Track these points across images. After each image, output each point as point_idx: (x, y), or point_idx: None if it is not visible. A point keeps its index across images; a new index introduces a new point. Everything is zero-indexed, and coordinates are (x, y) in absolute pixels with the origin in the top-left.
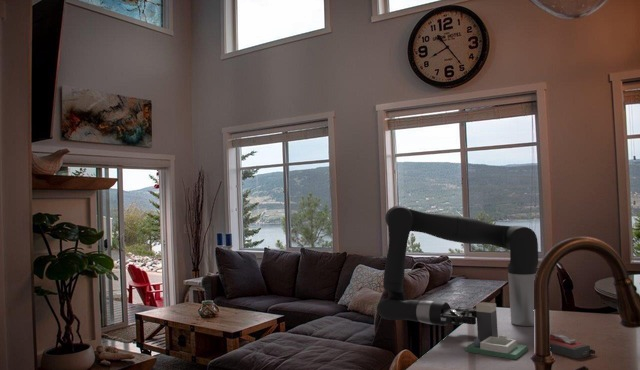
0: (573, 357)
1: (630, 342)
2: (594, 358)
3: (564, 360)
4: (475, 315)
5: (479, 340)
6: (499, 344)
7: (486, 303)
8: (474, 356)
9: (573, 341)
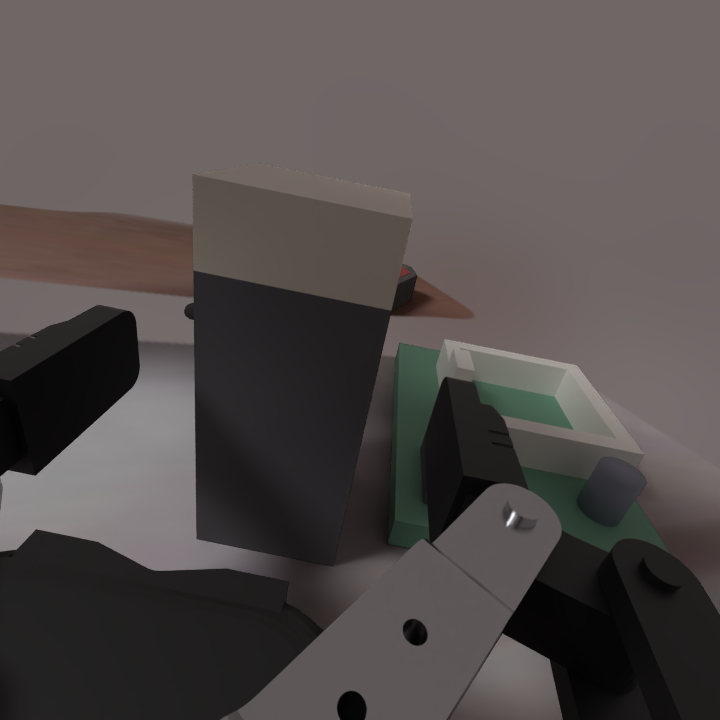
0: (410, 298)
1: None
2: None
3: (446, 312)
4: (39, 438)
5: (608, 459)
6: None
7: (281, 178)
8: (689, 530)
9: None
